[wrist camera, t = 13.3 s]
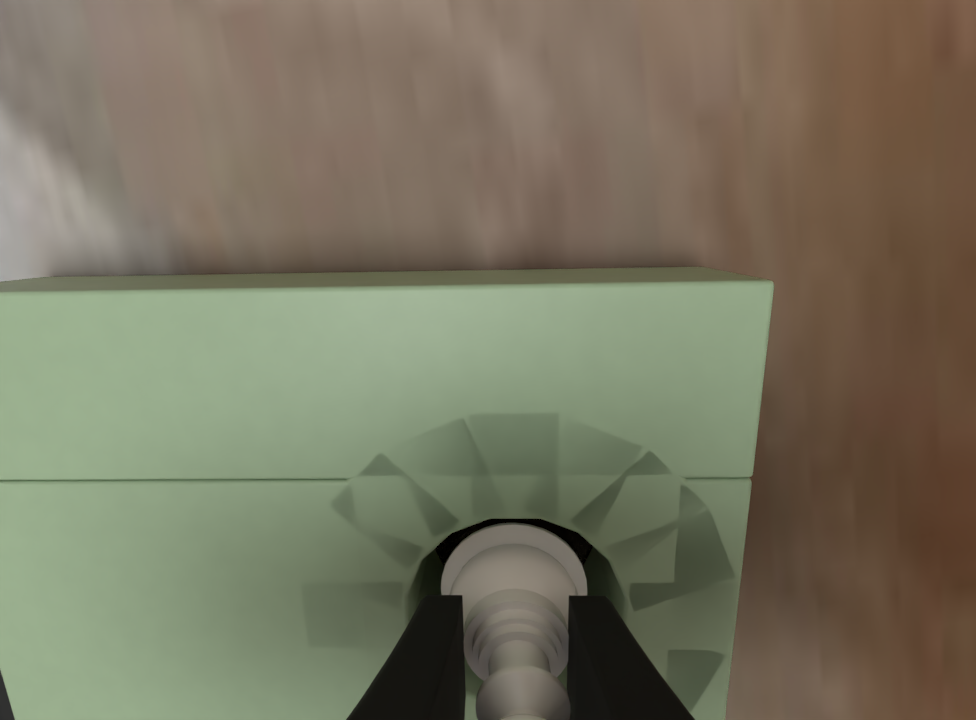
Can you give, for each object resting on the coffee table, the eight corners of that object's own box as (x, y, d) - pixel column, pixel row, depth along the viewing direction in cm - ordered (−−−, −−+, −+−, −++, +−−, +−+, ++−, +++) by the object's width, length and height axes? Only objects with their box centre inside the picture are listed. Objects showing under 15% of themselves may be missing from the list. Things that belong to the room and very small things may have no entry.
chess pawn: (419, 545, 10) (338, 825, 5) (554, 497, 10) (597, 753, 5) (475, 658, 11) (448, 1002, 6) (605, 617, 11) (686, 946, 6)
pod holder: (666, 730, 14) (710, 864, 11) (143, 724, 14) (51, 851, 11) (704, 266, 11) (777, 280, 8) (45, 276, 11) (-114, 293, 8)
